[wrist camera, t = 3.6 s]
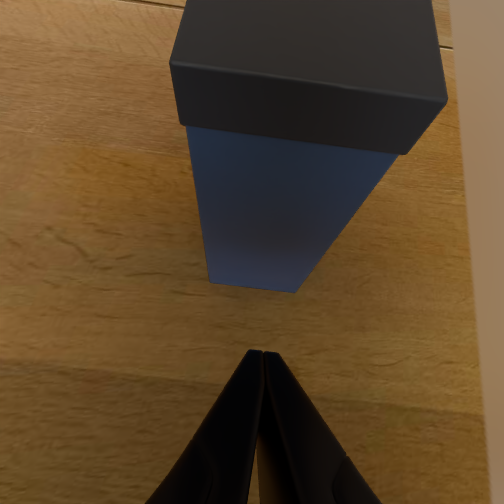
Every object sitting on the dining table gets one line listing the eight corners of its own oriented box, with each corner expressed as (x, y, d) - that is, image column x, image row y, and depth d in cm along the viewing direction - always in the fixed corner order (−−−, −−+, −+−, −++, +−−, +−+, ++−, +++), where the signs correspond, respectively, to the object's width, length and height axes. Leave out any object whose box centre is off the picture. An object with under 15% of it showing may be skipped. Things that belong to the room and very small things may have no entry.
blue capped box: (297, 295, 19) (451, 101, 6) (207, 284, 19) (167, 61, 6) (301, 216, 21) (423, -58, 8) (220, 206, 21) (211, -90, 8)
